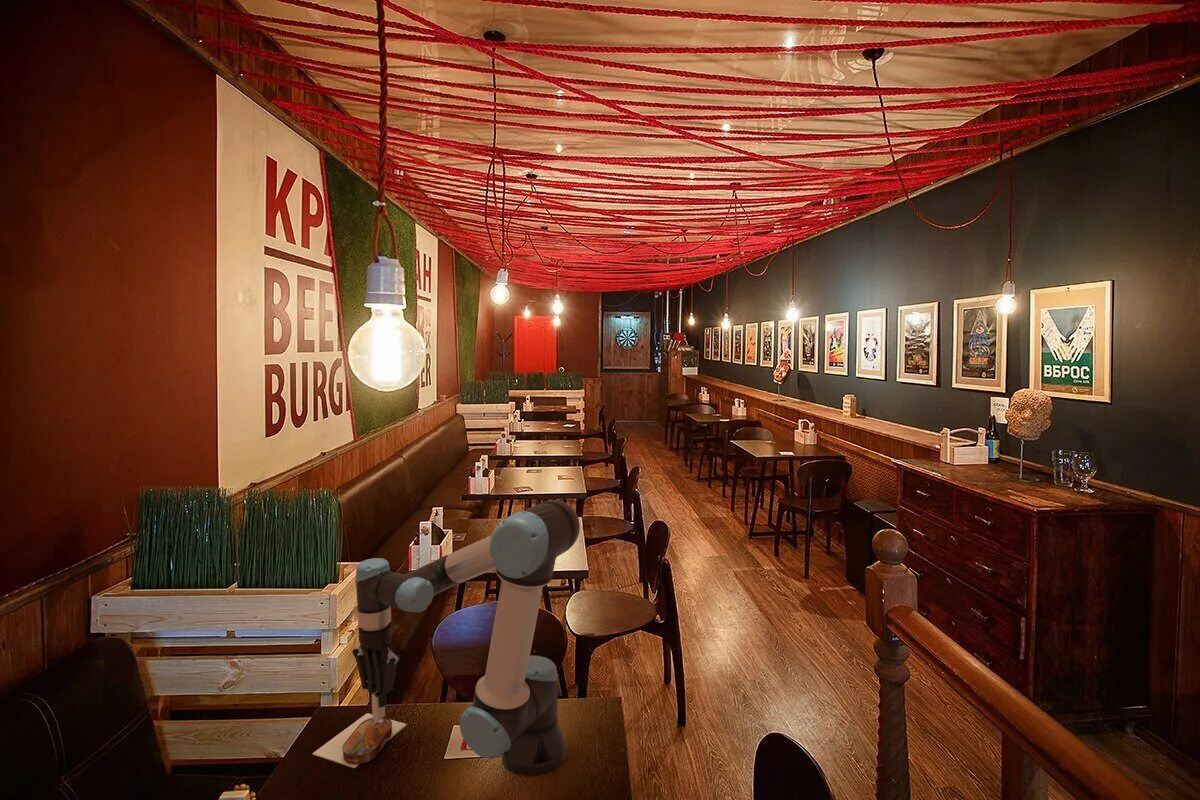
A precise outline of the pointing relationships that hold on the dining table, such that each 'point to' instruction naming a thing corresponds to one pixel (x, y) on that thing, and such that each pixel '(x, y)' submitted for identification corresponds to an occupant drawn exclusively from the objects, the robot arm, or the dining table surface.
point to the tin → (367, 740)
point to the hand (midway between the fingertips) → (379, 717)
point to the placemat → (335, 745)
